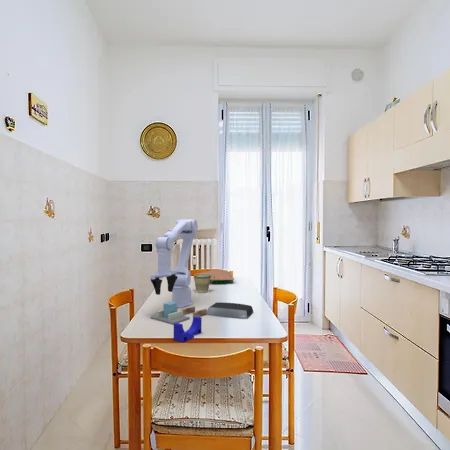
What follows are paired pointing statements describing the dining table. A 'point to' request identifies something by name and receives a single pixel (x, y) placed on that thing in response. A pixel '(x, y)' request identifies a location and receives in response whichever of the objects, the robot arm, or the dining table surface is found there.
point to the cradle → (192, 310)
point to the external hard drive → (230, 310)
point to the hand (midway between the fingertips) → (164, 293)
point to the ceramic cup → (202, 282)
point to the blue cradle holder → (189, 334)
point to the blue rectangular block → (169, 308)
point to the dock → (170, 317)
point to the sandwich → (219, 275)
